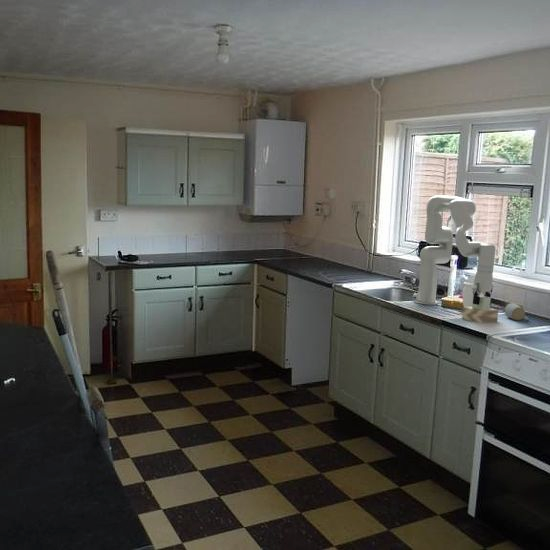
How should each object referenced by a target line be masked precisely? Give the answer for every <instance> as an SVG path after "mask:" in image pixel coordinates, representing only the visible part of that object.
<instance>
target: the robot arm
mask: <svg viewBox="0 0 550 550" xmlns="http://www.w3.org/2000/svg"><path fill="white" fill-rule="evenodd" d="M425 209H426V223H425V232H424V240H425V242H426V243H427V244H430V246H425V247H423V248H422V249H421V250H420V253H419V260H420V273H419V283H418V292H417V293H416V292H414V293H413V294H412V297H414V298H415V299H414V302H415V303H417V304H420V305H427V306H428V305H429V306H436V305H438V304H439V301H438V300H436V298H437V287H438V278H439V277H438V276H439V271H438V268H437V265H436V264H446V263H449V261H450V260H451V258H452V253H453V252H452V251H453V245H454V242H455V245H456V248H457V249H458V252H459V253H460V254H461V256H463V257H465V258H477V265H476V266H477V267H476V273H475V276H474V279H473V282H474V285H473V288H472V290H473V296H474V297H473V304H477V305H479V301H480V297H479V296H480V294H481V293H483V296H487V297H492V292H493V289H494V285H493V276H494V275H493V273H494V265H495V257H496V256H495V255H496V245H494V244H491V243H486V242H482V241H468V238H467V236H466V232H467V231H469V230H470V229H472V228H473V226H474V220H473V219H472V216H473V215H474V214H475V213H476V211H477V208H476V205H475V203H474V202H473V200H471V199H467V198H463V197H460V196H454V195H452V196H451V195H434V196H432V197H430V198H429V199H428V201H427V203H426V207H425ZM443 212H444V213H449V214H450V216H451V217H452V218H451V219H452V220H453V222H454V224H455V227H456V232H455V235H454V233H453V230H452V229H451V228H449V227H448V226H443V222H444V221H443V216H442V213H443ZM454 236H455V237H454ZM434 245H435V246H434ZM436 245H437V246H436ZM477 292H478V293H477ZM484 293H485V294H484Z"/></svg>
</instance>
